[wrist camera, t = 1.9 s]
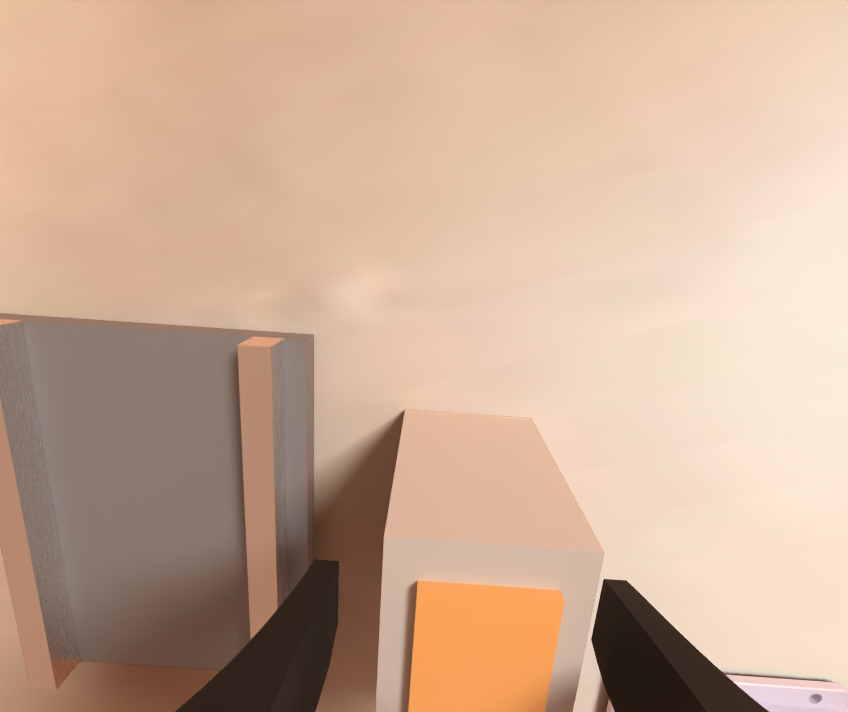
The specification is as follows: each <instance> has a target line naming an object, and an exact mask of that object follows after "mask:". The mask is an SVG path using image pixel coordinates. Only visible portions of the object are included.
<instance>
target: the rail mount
mask: <svg viewBox="0 0 848 712" xmlns="http://www.w3.org/2000/svg"><path fill="white" fill-rule="evenodd" d="M0 548H1V553H2V557H3V562H4V567H5V572H6V576H7V581H8V586H9V590H10V595H11V600H12V605H13V609H14V614H15V619H16V623H17V628H18V633H19V638H20V642H21V647H22V652H23V656H24V661H25V666H26V671H27V675H28V680H29V685H30V688H35V689H49V690H57V689H58V688H59V686H60V685H61V684H62V683H63V682H64V680H65V679H66V678H67V677H68V676H69V674H70V673H71V672H72V671H73V670H74V668H75V667H76V666H77V665H78V664H79V662H80V661H90V662H104V663H118V664H132V665H146V666H160V667H174V668H188V669H202V670H216V671H221V670H222V669H223V668H224V667H225V666H226V665H227V664H228V663H229V662H230V661H231V660H232V659H233V658H234V657H235V656H236V655H237V654H238V653H239V652H240V651H241V650H242V649H243V648H244V647H245V646H246V644H247V643H248V642H249V641H250V640H251V639H252V638H253V637H254V636H255V635H256V633H257V632H258V631H259V630H260V629H261V628H262V627H263V626H264V625H265V623H266V622H267V621H268V620H269V619H270V618H271V616H272V615H273V614H274V613H275V612H276V610H277V609H278V608H279V607H280V605H281V604H282V603H283V602H284V601H285V599H286V598H287V597H288V596H289V594H290V593H291V592H292V590H293V589H294V588H295V586H296V585H297V584H298V582H299V581H300V580H301V578H302V577H303V576H304V574H305V573H306V571H307V570H308V569H309V567H310V566H311V564H312V563H313V562H314V335H308V334H294V333H279V332H264V331H250V330H235V329H220V328H205V327H191V326H176V325H161V324H147V323H132V322H117V321H103V320H88V319H73V318H59V317H44V316H29V315H15V314H0Z"/></svg>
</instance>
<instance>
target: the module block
mask: <svg viewBox="0 0 848 712" xmlns="http://www.w3.org/2000/svg"><path fill="white" fill-rule="evenodd" d="M603 556H604V551H603V549H602V547H601V545H600V543H599V541H598V540H597V538H596V536H595V534H594V532H593V530H592V529H591V527H590V525H589V523H588V521H587V519H586V518H585V516H584V514H583V512H582V510H581V508H580V507H579V505H578V503H577V501H576V499H575V497H574V496H573V494H572V492H571V490H570V488H569V486H568V485H567V483H566V481H565V479H564V477H563V475H562V474H561V472H560V470H559V468H558V466H557V464H556V462H555V461H554V459H553V457H552V455H551V453H550V451H549V450H548V448H547V446H546V444H545V442H544V440H543V439H542V437H541V435H540V433H539V431H538V429H537V428H536V426H535V424H534V422H533V420H532V418H524V417H509V416H494V415H480V414H465V413H451V412H436V411H421V410H407V409H405V412H404V418H403V425H402V431H401V437H400V443H399V449H398V455H397V461H396V467H395V473H394V479H393V485H392V491H391V497H390V503H389V509H388V515H387V521H386V527H385V533H384V544H383V565H382V586H381V607H380V628H379V649H378V670H377V691H376V712H573V707H574V702H575V697H576V692H577V687H578V682H579V677H580V672H581V667H582V662H583V657H584V652H585V647H586V642H587V636H588V631H589V626H590V621H591V616H592V611H593V606H594V601H595V596H596V591H597V586H598V581H599V576H600V571H601V566H602V561H603Z"/></svg>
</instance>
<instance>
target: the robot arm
mask: <svg viewBox="0 0 848 712" xmlns="http://www.w3.org/2000/svg"><path fill="white" fill-rule="evenodd" d="M338 573H339V561H326V560H316V561H314V562H313V563H312V564H311V566H310V567H309V569H308V570H307V571H306V573H305V574H304V576H303V577H302V578H301V580H300V581H299V582H298V584H297V585H296V586H295V588H294V589H293V590H292V592H291V593H290V594H289V596H288V597H287V598H286V599H285V601H284V602H283V603H282V604H281V605H280V607H279V608H278V609H277V610H276V612H275V613H274V614H273V615H272V616H271V618H270V619H269V620H268V621H267V622H266V623H265V625H264V626H263V627H262V628H261V629H260V630H259V631H258V632H257V633H256V635H255V636H254V637H253V638H252V639H251V640H250V641H249V642H248V643H247V644H246V646H245V647H244V648H243V649H242V650H241V651H240V652H239V653H238V654H237V655H236V656H235V657H234V658H233V659H232V660H231V661H230V662H229V663H228V664H227V665H226V666H225V667H224V668H223V669H222V670H221V671H220V672H219V673H218V674H217V675H216V676H215V677H214V678H213V679H212V680H211V681H209V682H208V683H207V684H206V685H205V686H204V687H203V688H202V689H201V690H200V691H198V692H197V693H196V694H195V695H194V696H193V697H192V698H190V699H189V700H188V701H187V702H186V703H185V704H184V705H183V706H181V707H180V708H179V709H178V710H177V711H176V712H315V711H316V708H317V704H318V701H319V698H320V694H321V691H322V688H323V684H324V681H325V678H326V674H327V671H328V667H329V664H330V659H331V654H332V649H333V644H334V639H335V634H336V629H337V623H338ZM591 640H592V644H593V648H594V651H595V655H596V659H597V663H598V666H599V670H600V673H601V676H602V680H603V683H604V686H605V688H606V691H607V694H608V696H609V701H608V706H607V710H606V712H847V711H848V690H847V689H846V688H845V687H844V686H843V685H842V684H840V683H836V682H823V681H809V680H795V679H781V678H767V677H753V676H739V675H725V674H724V673H723V672H721V671H720V670H719V669H718V668H717V667H716V666H715V665H714V664H712V663H711V662H710V661H709V660H708V659H707V658H706V657H705V656H704V655H703V654H702V653H700V652H699V651H698V650H697V649H696V648H695V647H694V646H693V645H692V644H691V643H690V642H689V641H688V640H687V639H686V638H685V637H684V636H683V635H681V634H680V633H679V632H678V631H677V630H676V629H675V628H674V627H673V626H672V625H671V624H670V623H669V622H668V621H667V620H666V619H665V618H664V617H663V616H662V615H661V614H660V613H659V612H658V611H657V610H656V609H655V608H654V607H653V606H652V605H651V604H650V603H649V602H648V601H647V600H646V599H645V598H644V597H643V596H642V595H641V594H640V593H639V592H638V591H637V590H636V589H635V588H634V587H633V586H631V585H630V584H629V583H628V582H627V581H624V580H609V579H604V580H603V585H602V590H601V595H600V600H599V605H598V610H597V615H596V619H595V624H594V629H593V634H592V639H591Z"/></svg>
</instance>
